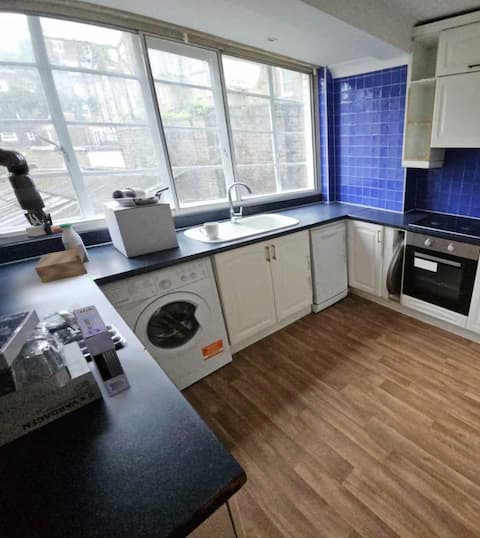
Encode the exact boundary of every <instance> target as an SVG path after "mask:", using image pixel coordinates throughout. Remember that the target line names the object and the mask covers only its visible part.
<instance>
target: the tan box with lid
mask: <svg viewBox="0 0 480 538" xmlns="http://www.w3.org/2000/svg"><path fill="white" fill-rule="evenodd" d="M89 261H90V259H89V257H87V254H86V252H85V250H84V247H83V245H82V244H80V245H78V249H73V250H67V251H66V250H61V251H57V252H51V253H46V254H42V255H41V257H40V259H39V260H38V262H37V264H36V265H35V268H34V269H35V271H36V273H37V275H38V277H39V279H40V282H41V283H43V284H44V283H48V282H54V281H58V280H63V279H67V278H72V277H76V275H77V276H81V275H80V274H82V275H85V273H86V274H88V273H87V272H88V270H87V268H86V265H85V264H84V263H86V262H89ZM71 276H72V277H71Z"/></svg>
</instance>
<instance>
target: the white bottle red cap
mask: <svg viewBox="0 0 480 538" xmlns="http://www.w3.org/2000/svg"><path fill="white" fill-rule="evenodd" d="M50 228H51V230H52V232H53V235H50V236H49V237H51V236H55V235H59V234H62V233H63V230H62V229H61V228H60V227H52V226H51V227H50ZM25 231H26V232H27V233H26V234H27V238H28V239H30V240H31V239H32V240H37V239H41V238H47V237H48V236H47V235H46V233H45V231H44V228H43V226H42V225H39V226H29V227H25Z"/></svg>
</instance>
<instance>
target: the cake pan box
mask: <svg viewBox="0 0 480 538" xmlns="http://www.w3.org/2000/svg"><path fill="white" fill-rule="evenodd" d="M72 314H73V317H74V319H75V321H76V322H75V323H76V324H77V326H78V329H79V332H80V334H81V337H82V340H83V342H84V345H85V347H86V349H87V351H88V353H89V356H90V358H91V360H92V363H93V365H94V367H95V370H96V372H97V374H98V376H99V379H100V380H101V383H102V384H103V386H104V388H105V390H106V393H107V394H108V397H109V398H112V397H114V396H115V395H118V394H119V393H121V392H123V391H125V390H127V389H130V388H131V384H130V382H129V379H128V377H127V375H126V372H125V370H124V368H123V366H122V363H121V361H120V358H119V356H118V353H117V350H116V345H115V342H114V340H113V338H112V335H111V334H110V331H109V329H108V327H107V325H106V323H105V321H104V320H103V318H102V316H101V315H100V313H99V311H98V309H97V307H96V306H95V304H92V305H87V306H84V307H80V308H76V309H73V310H72Z"/></svg>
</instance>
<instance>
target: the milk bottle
mask: <svg viewBox="0 0 480 538" xmlns="http://www.w3.org/2000/svg"><path fill="white" fill-rule="evenodd" d="M59 228H61V229H62V230H63V233H61V241H62V244H63V246H64V248H65V251H67V250H73V249H78V245H80V244H82V245H83V247H84V250H85V252H86V254H87V257H88V258H89V257H90V256H89V253H88V250H87V249H86V246H85V244H84V242H83V240H82V237H81V236H80V235H79V233H77V232H76V231H75V230H74V229H73V225H72V224H71V223H69V222H67V223H62V224H60V225H59Z"/></svg>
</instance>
